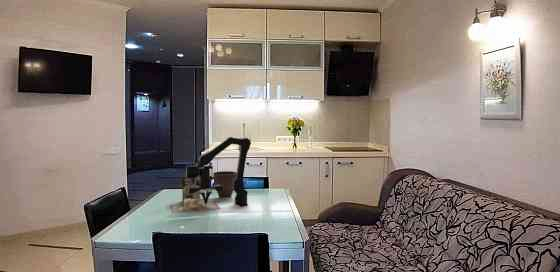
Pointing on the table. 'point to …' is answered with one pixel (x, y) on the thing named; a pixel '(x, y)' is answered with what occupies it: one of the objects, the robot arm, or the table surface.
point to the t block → (192, 203)
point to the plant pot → (224, 182)
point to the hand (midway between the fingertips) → (205, 204)
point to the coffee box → (186, 184)
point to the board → (205, 207)
